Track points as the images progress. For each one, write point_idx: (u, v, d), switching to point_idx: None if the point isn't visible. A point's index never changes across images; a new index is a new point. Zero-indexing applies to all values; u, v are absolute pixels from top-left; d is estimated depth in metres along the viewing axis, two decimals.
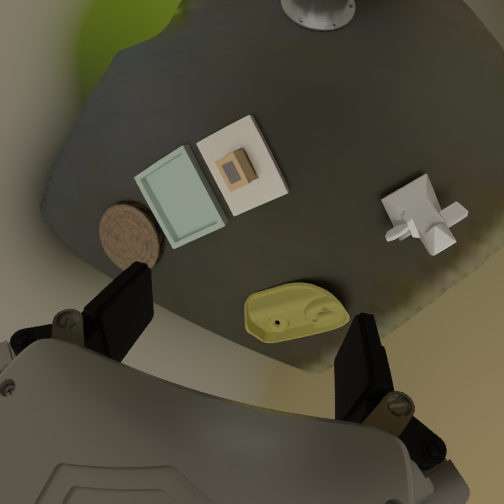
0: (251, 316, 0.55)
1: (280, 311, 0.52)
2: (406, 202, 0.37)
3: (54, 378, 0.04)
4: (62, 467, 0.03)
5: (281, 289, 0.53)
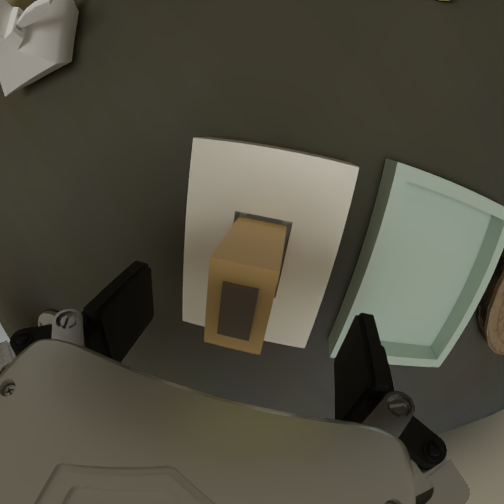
0: None
1: None
2: (19, 60, 0.11)
3: (54, 378, 0.04)
4: (62, 467, 0.03)
5: None
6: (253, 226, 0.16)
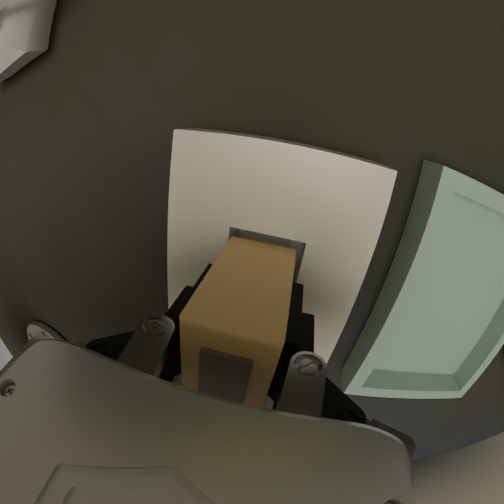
0: None
1: None
2: None
3: (54, 378, 0.04)
4: (62, 467, 0.03)
5: None
6: (250, 252, 0.12)
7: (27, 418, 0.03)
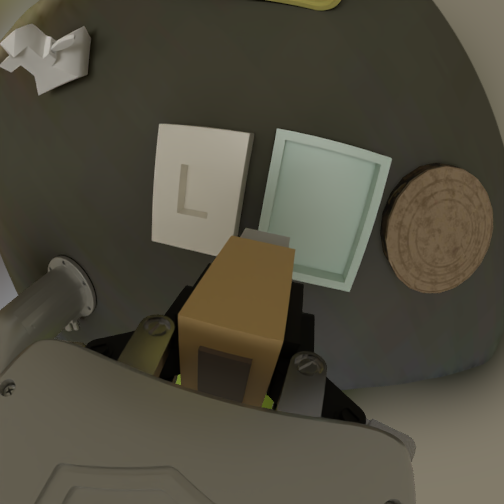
0: None
1: None
2: (52, 72, 0.22)
3: (54, 378, 0.04)
4: (62, 467, 0.03)
5: None
6: (249, 252, 0.11)
7: (27, 418, 0.03)
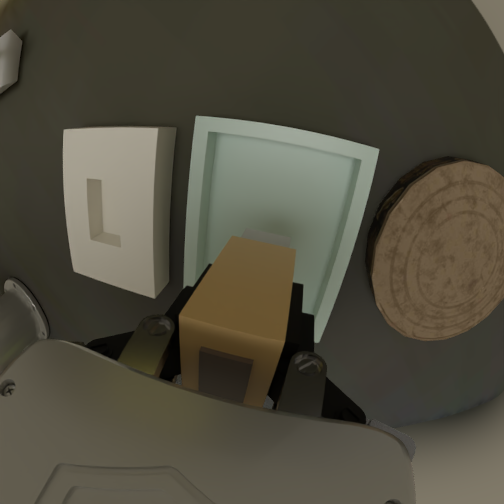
0: None
1: None
2: None
3: (54, 378, 0.04)
4: (62, 467, 0.03)
5: None
6: (250, 252, 0.11)
7: (27, 418, 0.03)
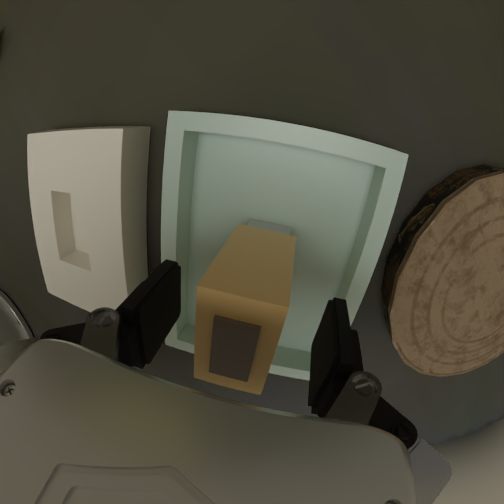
0: None
1: None
2: None
3: (54, 378, 0.04)
4: (62, 467, 0.03)
5: None
6: (255, 237, 0.13)
7: (27, 418, 0.03)
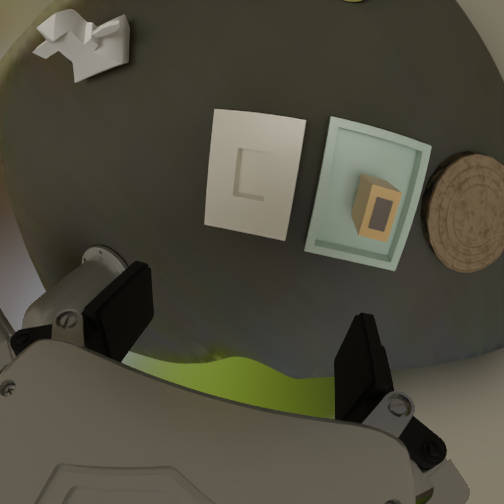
0: None
1: None
2: (93, 58, 0.24)
3: (54, 378, 0.04)
4: (62, 467, 0.03)
5: None
6: (373, 177, 0.26)
7: (27, 418, 0.03)
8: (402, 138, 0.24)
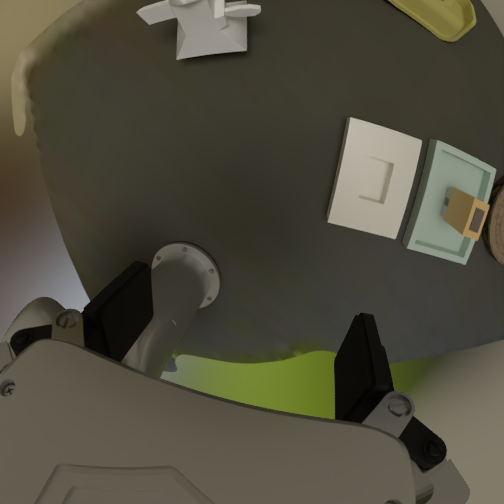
0: (459, 26, 0.18)
1: None
2: (215, 37, 0.25)
3: (54, 378, 0.04)
4: (62, 467, 0.03)
5: (407, 8, 0.21)
6: None
7: (27, 418, 0.03)
8: (479, 162, 0.27)
